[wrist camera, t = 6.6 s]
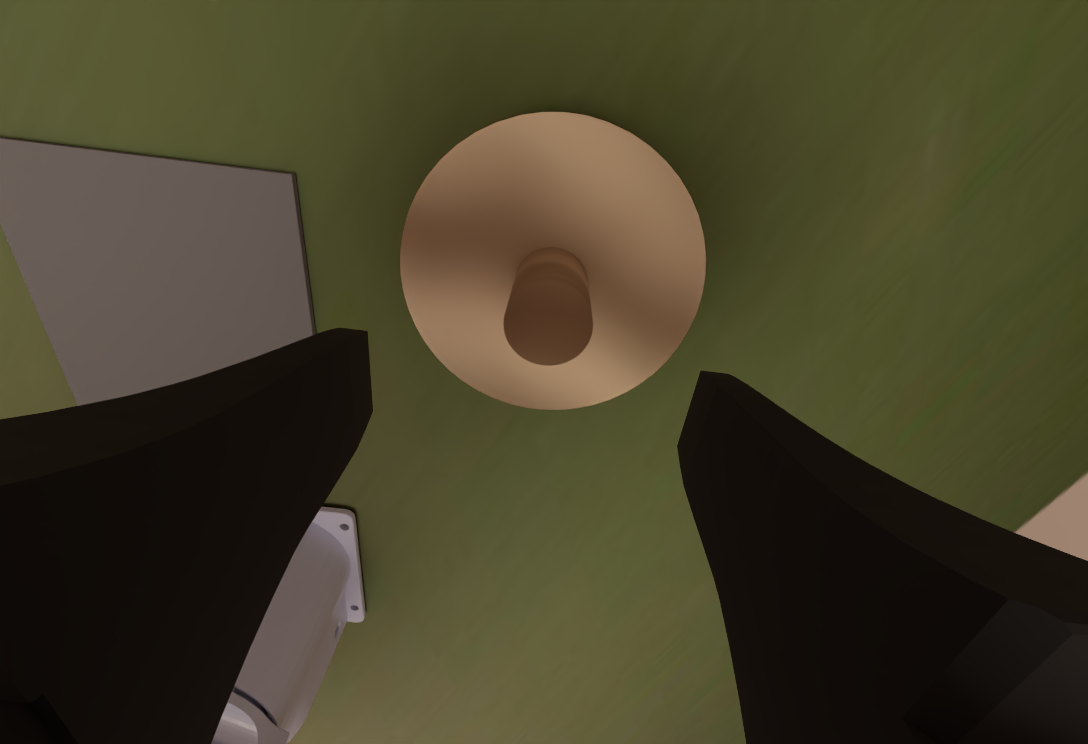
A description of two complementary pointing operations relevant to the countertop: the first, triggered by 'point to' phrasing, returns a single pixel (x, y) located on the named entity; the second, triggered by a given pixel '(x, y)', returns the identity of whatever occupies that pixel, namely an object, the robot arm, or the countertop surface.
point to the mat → (153, 262)
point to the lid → (553, 260)
